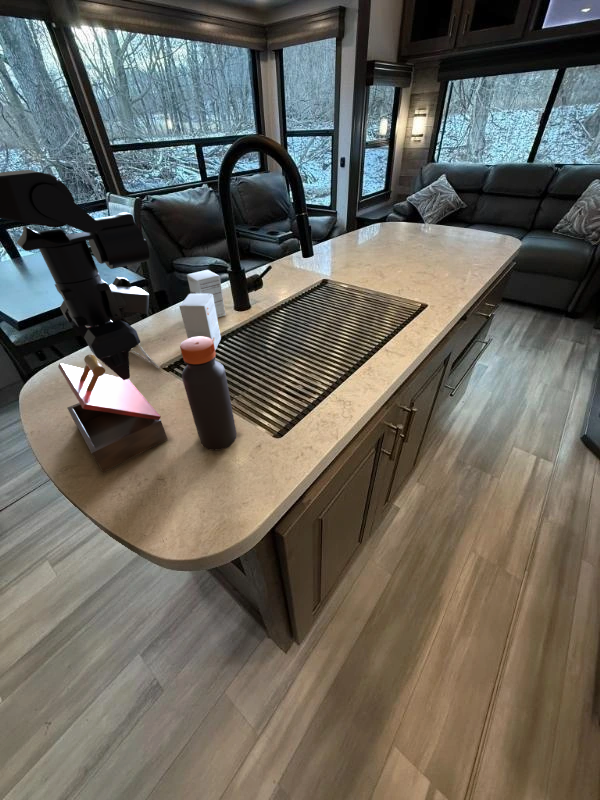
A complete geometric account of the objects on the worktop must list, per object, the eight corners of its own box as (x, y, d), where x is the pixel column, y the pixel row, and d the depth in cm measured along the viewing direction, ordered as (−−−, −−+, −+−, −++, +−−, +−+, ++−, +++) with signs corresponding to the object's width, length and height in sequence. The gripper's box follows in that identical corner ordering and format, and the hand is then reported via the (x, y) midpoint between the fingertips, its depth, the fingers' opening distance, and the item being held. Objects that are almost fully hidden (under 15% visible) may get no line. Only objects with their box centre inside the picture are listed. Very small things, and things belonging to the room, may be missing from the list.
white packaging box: (194, 314, 106) (185, 274, 98) (215, 308, 109) (208, 268, 102) (205, 322, 101) (196, 280, 93) (226, 315, 105) (220, 274, 97)
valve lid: (82, 408, 49) (97, 376, 48) (57, 366, 58) (69, 339, 57) (159, 420, 59) (172, 393, 58) (127, 382, 68) (138, 359, 67)
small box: (199, 338, 93) (188, 293, 85) (221, 338, 93) (213, 293, 85) (190, 353, 87) (178, 305, 79) (214, 353, 86) (204, 305, 78)
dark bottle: (200, 454, 59) (171, 357, 46) (200, 429, 64) (174, 335, 52) (238, 447, 60) (220, 351, 48) (235, 423, 65) (218, 330, 53)
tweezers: (119, 348, 89) (117, 342, 88) (136, 342, 92) (134, 336, 90) (152, 377, 80) (150, 370, 79) (170, 369, 83) (168, 362, 82)
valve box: (103, 472, 56) (91, 453, 53) (77, 426, 65) (66, 407, 62) (168, 439, 62) (161, 420, 59) (136, 401, 71) (129, 382, 68)
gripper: (158, 278, 46) (184, 371, 56) (113, 252, 57) (142, 334, 67) (70, 300, 40) (117, 400, 50) (39, 267, 51) (82, 353, 61)
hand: (117, 367), depth 57 cm, fingers open, 9 cm apart
